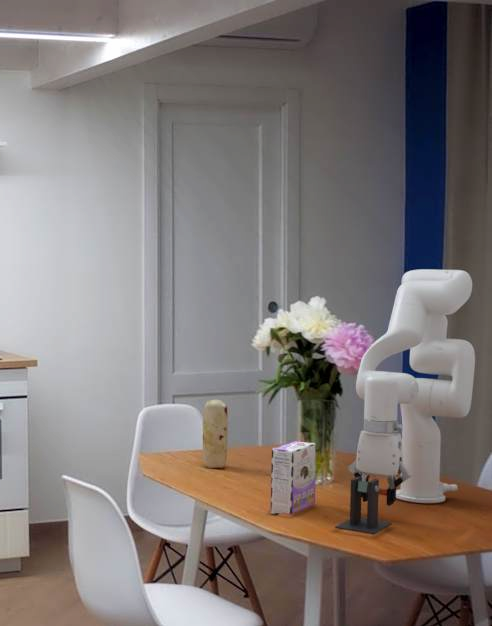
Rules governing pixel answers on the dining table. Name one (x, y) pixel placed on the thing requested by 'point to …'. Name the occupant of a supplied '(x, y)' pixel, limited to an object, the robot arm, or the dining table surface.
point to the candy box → (293, 477)
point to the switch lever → (364, 488)
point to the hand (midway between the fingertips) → (378, 501)
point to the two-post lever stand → (371, 523)
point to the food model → (215, 434)
